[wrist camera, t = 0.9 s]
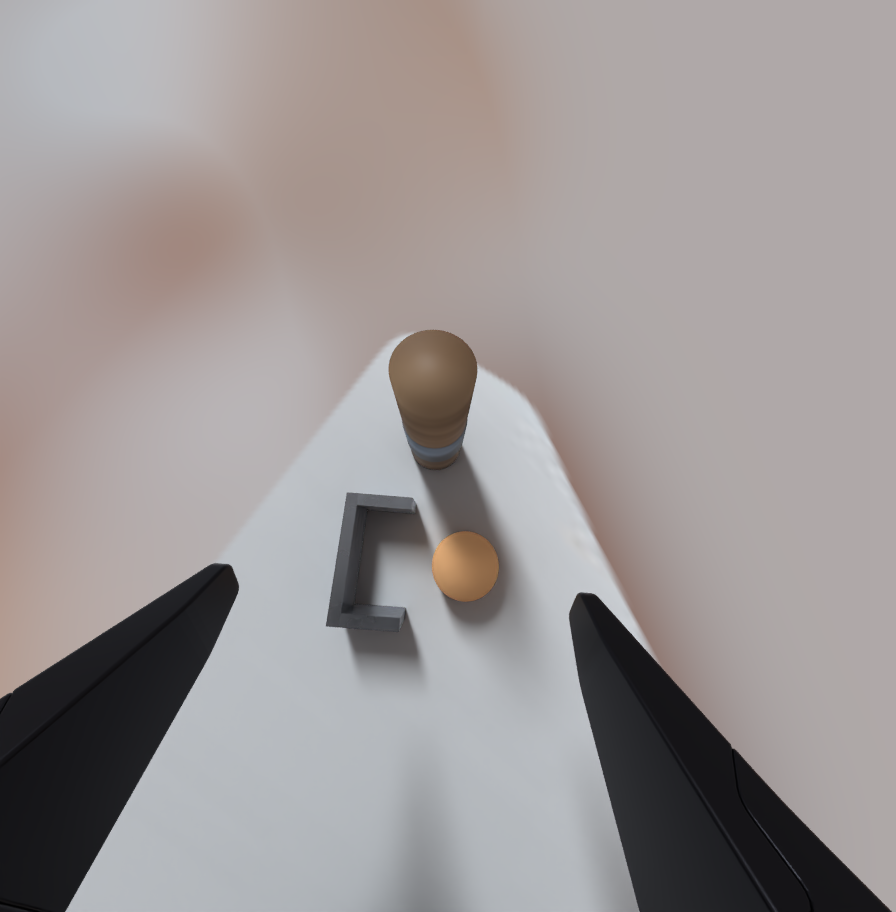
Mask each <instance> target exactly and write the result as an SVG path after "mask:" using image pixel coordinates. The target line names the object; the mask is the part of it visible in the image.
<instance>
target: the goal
mask: <svg viewBox="0 0 896 912" xmlns="http://www.w3.org/2000/svg"><path fill="white" fill-rule="evenodd" d="M415 509H416V502H415V501H414V499H413V498H409V497H397V496H384V495H372V494H360V493H347V496H346V502H345V508H344V515H343V521H342V527H341V534H340V540H339V546H338V553H337V559H336V565H335V572H334V578H333V584H332V591H331V597H330V603H329V610H328V616H327V622H326V626H329V627H342V628H355V629H367V630H380V631H393V632H399V630H400V628H401V626H402V623H403V621H404V617H405V608H403V607H390V606H377V605H365V604H354V602H355V595H356V588H357V580H358V573H359V566H360V559H361V552H362V545H363V537H364V530H365V523H366V516H367V510H376V511H388V512H401V513H413V514H415Z"/></svg>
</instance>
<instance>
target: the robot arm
mask: <svg viewBox="0 0 896 912" xmlns="http://www.w3.org/2000/svg"><path fill="white" fill-rule="evenodd" d="M238 591H239V584H238V581H237V578H236V576H235V573H234V571H233V568H232V566H231V565H229V564H219V563H214V564H211V565H209V566H207V567H206V568H204V569H203V570H201V571H200V572H198V573H197V574H195V575H193V576H192V577H190V578H189V579H187V580H186V581H184V582H182V583H181V584H179V585H178V586H176V587H175V588H173V589H171V590H170V591H168V592H167V593H165V594H164V595H162V596H160V597H159V598H157V599H156V600H154V601H153V602H151V603H150V604H148V605H146V606H145V607H143V608H142V609H140V610H139V611H137V612H135V613H134V614H132V615H131V616H129V617H128V618H126V619H125V620H123V621H122V622H120V623H118V624H117V625H115V626H113V627H112V628H110V629H109V630H107V631H106V632H104V633H102V634H101V635H99V636H98V637H96V638H95V639H93V640H92V641H90V642H88V643H87V644H85V645H84V646H82V647H81V648H79V649H78V650H76V651H74V652H73V653H71V654H70V655H68V656H67V657H65V658H63V659H62V660H60V661H59V662H57V663H56V664H54V665H52V666H51V667H49V668H48V669H46V670H45V671H43V672H41V673H40V674H38V675H37V676H35V677H34V678H32V679H30V680H29V681H27V682H26V683H24V684H23V685H21V686H19V687H18V688H16V689H15V690H14V691H13V693H9V694H7V695H5V696H4V697H2V698H1V699H0V912H65V911H66V909H67V908H68V906H69V904H70V902H71V901H72V899H73V897H74V895H75V894H76V892H77V890H78V888H79V886H80V885H81V883H82V881H83V879H84V878H85V876H86V874H87V872H88V871H89V869H90V867H91V865H92V863H93V862H94V860H95V858H96V856H97V855H98V853H99V851H100V849H101V847H102V846H103V844H104V842H105V840H106V839H107V837H108V835H109V833H110V832H111V830H112V828H113V826H114V824H115V823H116V821H117V819H118V817H119V816H120V814H121V812H122V810H123V809H124V807H125V805H126V803H127V801H128V800H129V798H130V796H131V794H132V793H133V791H134V789H135V787H136V785H137V784H138V782H139V780H140V778H141V777H142V775H143V773H144V771H145V770H146V768H147V766H148V764H149V762H150V761H151V759H152V757H153V755H154V754H155V752H156V750H157V748H158V747H159V745H160V743H161V741H162V739H163V738H164V736H165V734H166V732H167V731H168V729H169V727H170V725H171V723H172V722H173V720H174V718H175V716H176V715H177V713H178V711H179V709H180V708H181V706H182V704H183V702H184V700H185V699H186V697H187V695H188V693H189V692H190V690H191V688H192V686H193V685H194V683H195V681H196V679H197V677H198V676H199V674H200V672H201V670H202V669H203V667H204V665H205V663H206V661H207V659H208V658H209V656H210V654H211V652H212V650H213V648H214V645H215V643H216V641H217V639H218V637H219V634H220V632H221V630H222V628H223V625H224V623H225V621H226V619H227V617H228V614H229V612H230V610H231V608H232V605H233V603H234V601H235V599H236V596H237V594H238ZM569 621H570V627H571V634H572V640H573V646H574V652H575V658H576V665H577V671H578V677H579V682H580V687H581V691H582V695H583V699H584V703H585V706H586V710H587V714H588V718H589V722H590V725H591V729H592V733H593V737H594V741H595V744H596V748H597V752H598V756H599V759H600V763H601V767H602V771H603V775H604V778H605V782H606V786H607V790H608V794H609V797H610V801H611V805H612V809H613V813H614V816H615V820H616V824H617V828H618V832H619V835H620V839H621V843H622V847H623V850H624V854H625V858H626V862H627V866H628V869H629V873H630V877H631V881H632V885H633V888H634V892H635V896H636V900H637V904H638V907H639V911H640V912H892V911H890V909H889V908H888V907H887V906H885V904H883V903H882V901H881V900H880V899H878V897H877V896H876V895H875V894H874V893H873V892H872V891H871V890H870V889H868V887H867V886H866V885H865V884H864V883H863V882H861V880H860V879H859V878H858V877H857V876H856V875H855V874H854V873H853V872H852V871H850V869H849V868H848V867H847V866H846V865H845V864H844V863H842V861H841V860H840V859H839V858H838V857H837V856H836V855H835V854H834V853H833V852H831V850H830V849H829V848H828V847H826V845H825V844H824V843H823V842H822V841H821V840H820V839H819V838H818V837H817V836H816V835H815V834H814V833H813V832H812V831H811V830H810V829H809V828H808V827H807V826H806V825H805V824H804V823H803V822H802V821H801V820H800V819H799V818H798V817H797V816H796V815H795V813H794V812H793V811H792V810H791V809H790V808H789V807H788V806H787V805H786V804H785V803H784V802H783V801H782V800H781V799H780V798H779V797H778V796H777V795H776V794H775V792H774V791H773V790H772V789H771V788H770V787H769V786H768V785H767V784H766V783H765V782H764V781H763V779H762V778H761V777H760V776H759V775H758V774H757V773H756V772H755V771H754V770H753V769H752V767H751V766H750V765H749V764H748V763H747V762H746V761H745V760H744V759H743V757H742V756H741V755H740V754H739V753H738V752H737V751H736V750H735V749H732V747H731V744H730V743H729V742H728V741H727V740H726V739H725V738H724V736H723V735H722V734H721V733H720V732H719V731H718V730H717V729H716V728H715V726H714V725H713V724H712V723H711V722H710V721H709V720H708V719H707V718H706V717H705V715H704V714H703V713H702V712H701V711H700V710H699V709H698V708H697V706H696V705H695V704H694V703H693V702H692V701H691V700H690V699H689V698H688V696H687V695H686V694H685V693H684V692H683V691H682V690H681V689H680V688H679V686H677V684H676V683H675V682H674V681H673V680H672V679H671V678H670V676H669V675H668V674H667V673H666V672H665V671H664V670H663V669H662V668H661V666H660V665H659V664H658V663H657V662H656V661H655V660H654V659H653V658H652V656H651V655H650V654H649V653H648V652H647V651H646V650H645V649H644V648H643V646H642V645H641V644H640V643H639V642H638V641H637V640H636V639H635V638H634V636H633V635H632V634H631V633H630V632H629V631H628V630H627V629H626V628H625V626H624V625H623V624H622V623H621V622H620V621H619V620H618V619H617V618H616V616H615V615H614V614H613V613H612V612H611V611H610V610H609V609H608V608H607V606H606V605H605V604H604V603H603V602H602V601H601V600H600V599H599V598H598V597H597V596H596V595H595V594H592V593H578V594H577V596H576V598H575V600H574V603H573V605H572V607H571V610H570V613H569Z"/></svg>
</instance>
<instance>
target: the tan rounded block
mask: <svg viewBox="0 0 896 912" xmlns="http://www.w3.org/2000/svg"><path fill="white" fill-rule="evenodd" d="M498 571H499V563H498V557H497V554H496V552H495V550H494V548H493V546H492V545H491V544H490V542H489V541H488V540H487V539H485V538H484V537H483V536H481V535H479V534H477V533H474V532H469V531H461V532H456V533H453V534H451V535H449V536H448V537H446V538H445V539H444V540H443V541H442V542H441V543H440V544H439V545H438V547H437V548H436V550H435V553H434V556H433V560H432V572H433V576H434V579H435V582H436V584H437V585H438V587H439V588H440V590H441V591H442V592H443V593H444V594H446V595H447V596H448V597H450V598H452V599H454V600H458V601H463V602H469V601H474V600H477V599H479V598H481V597H483V596H485V595H486V594H487V593H488V592H489V591H490V590H491V589H492V587H493V586H494V584H495V582H496V579H497V576H498Z"/></svg>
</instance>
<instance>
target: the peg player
mask: <svg viewBox="0 0 896 912" xmlns="http://www.w3.org/2000/svg"><path fill="white" fill-rule="evenodd" d="M389 377H390V381H391V385H392V388H393V391H394V395H395V398H396V401H397V405H398V408H399V411H400V414H401V418H402V423H403V428H404V431H405V434H406V437H407V440H408V444H409V446H410V448H411V451H412V454H413V456H414V458H415V460H416V461H417V462H418V463H419V464H420V465H421V466H423V467H425V468H428V469H432V470H440V469H444V468H446V467H448V466H450V465H451V464H452V463H454V461H455V460H456V459H457V457H458V455H459V452H460V448H461V445H462V442H463V439H464V434H465V430H466V426H467V417H468V413H469V409H470V404H471V400H472V395H473V391H474V387H475V382H476V378H477V362H476V359H475V356H474V354H473V352H472V350H471V349H470V348H469V346H468V345H467V344H466V343H465V342H464V341H463V340H462V339H460V338H459V337H457V336H455V335H453V334H451V333H449V332H445V331H440V330H425V331H420V332H417V333H414V334H412V335H410V336H408V337H407V338H405V339H404V340H403V341H402V342H401V343H400V344H399V345H398V346H397V347H396V348H395V350H394V352H393V353H392V356H391V358H390V362H389Z"/></svg>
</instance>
